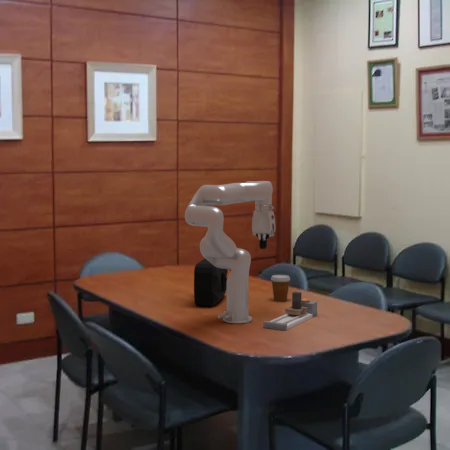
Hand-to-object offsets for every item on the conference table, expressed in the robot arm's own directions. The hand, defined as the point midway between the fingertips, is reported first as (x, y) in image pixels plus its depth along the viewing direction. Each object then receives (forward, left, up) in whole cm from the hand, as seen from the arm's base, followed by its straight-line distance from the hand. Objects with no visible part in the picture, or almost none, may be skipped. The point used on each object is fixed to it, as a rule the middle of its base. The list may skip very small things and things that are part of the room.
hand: (263, 248), depth 324 cm
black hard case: (-5, +31, -29) cm, 43 cm away
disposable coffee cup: (+22, +12, -29) cm, 39 cm away
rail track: (-3, -21, -29) cm, 36 cm away
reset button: (+10, -17, -24) cm, 31 cm away
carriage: (+2, -20, -26) cm, 33 cm away
